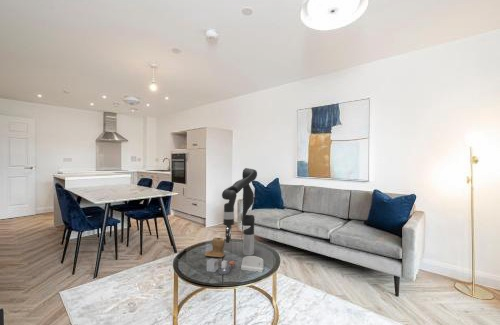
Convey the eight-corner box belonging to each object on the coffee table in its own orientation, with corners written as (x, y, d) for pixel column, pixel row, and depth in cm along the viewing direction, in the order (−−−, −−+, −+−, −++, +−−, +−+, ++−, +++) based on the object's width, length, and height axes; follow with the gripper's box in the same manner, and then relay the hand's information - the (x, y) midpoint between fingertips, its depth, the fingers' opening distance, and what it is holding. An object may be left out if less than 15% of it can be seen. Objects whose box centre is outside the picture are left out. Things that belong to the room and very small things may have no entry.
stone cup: (226, 254, 204) (227, 236, 205) (222, 259, 192) (222, 240, 193) (210, 252, 207) (210, 235, 208) (204, 257, 195) (205, 239, 196)
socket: (214, 272, 166) (214, 262, 167) (206, 271, 168) (206, 261, 169) (218, 269, 172) (218, 259, 172) (210, 268, 174) (210, 258, 174)
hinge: (240, 269, 172) (241, 254, 176) (242, 269, 176) (243, 254, 180) (262, 272, 168) (263, 257, 171) (264, 272, 172) (265, 257, 175)
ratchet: (226, 275, 161) (227, 263, 162) (217, 274, 164) (217, 262, 164) (236, 265, 179) (237, 254, 180) (228, 264, 182) (228, 253, 182)
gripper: (233, 219, 163) (232, 243, 162) (235, 216, 178) (234, 238, 177) (222, 219, 164) (221, 243, 163) (224, 216, 178) (224, 238, 177)
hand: (228, 241), depth 170 cm, fingers open, 8 cm apart
